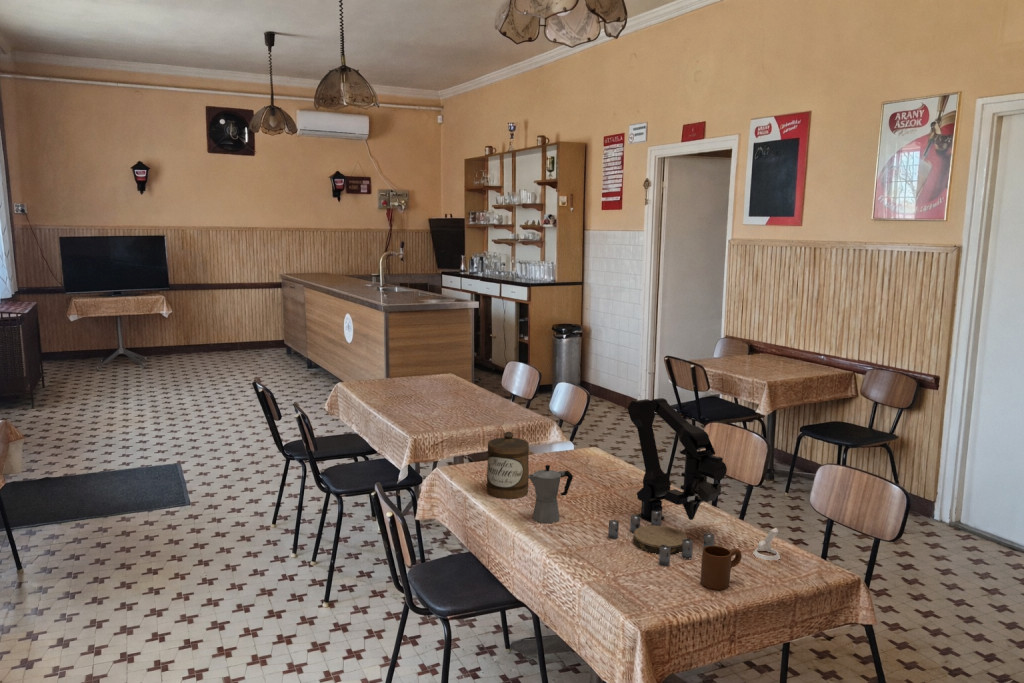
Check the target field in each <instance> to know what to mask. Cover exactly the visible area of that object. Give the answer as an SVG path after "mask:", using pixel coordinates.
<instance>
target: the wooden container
mask: <svg viewBox="0 0 1024 683" xmlns="http://www.w3.org/2000/svg"><path fill="white" fill-rule="evenodd" d="M529 446H530V445H529V442H528V441H527V440H525V439H523V438H517V437H514V433H512V432H511V431H506V432H504V434H503V437H498V438H493V439H490V440H489V441H488V442H487V466H486V468H487V472H486V492H488V493H489V494H488V493H487V494H488V495H489V496H491V495H492V497H494V496H495V497H494V498H498V497H499V498H498V499H505V498H512V499H519V498H522V497H525V496H527V495H528V493H529V478H528V476H529V475H530V474H529V472H530V471H529V468H530V467H529V466H530V465H529V459H530V458H529V457H530V454H529V451H530V450H529Z"/></svg>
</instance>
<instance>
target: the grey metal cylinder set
mask: <svg viewBox="0 0 1024 683" xmlns="http://www.w3.org/2000/svg"><path fill="white" fill-rule="evenodd" d="M641 519H642V518H641V516H639V515H638V514H631V515H630V527H629V528H630V529H629V532H630V533H631V532H632V533H631V534H634V531H635V530H636V529H638V528H639V527H641ZM650 523H651V524H650V526H652V525H654V526H662V524H661V523H662V519H661V511H660V510H656V509H655V510H652V519H651V522H650ZM619 526H620V522H619V520H616V519H610V520H608V535H607V537H608V538H609V539H610V538H612V539H611V540H617V539H618V538H619ZM616 538H617V539H616ZM693 544H694V540H693V539H691V538H687V539H683V540H682V553H681V556H682V557H683V558H686V559H685V560H690V559H689V558H692V559H693V546H694V545H693ZM702 544H703V546H702V549H703V548H704V547H706V546H715V534H714V533H711V532H705V533H703V543H702ZM670 549H671V547H670V546H667V545H661V546H660V551H659V556H658V564H659V566H661V567H669V566H670V561H671V555H670ZM682 557H681V558H682ZM683 558H682V559H683ZM668 565H669V566H668Z"/></svg>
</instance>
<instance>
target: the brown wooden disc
mask: <svg viewBox="0 0 1024 683" xmlns="http://www.w3.org/2000/svg"><path fill="white" fill-rule="evenodd" d="M683 539H688V537H687V535H686V534H685V533H684V532H683V531H681V530H679V529H677V528H673V527H669V526H663V525H661V526H654V525H652V526H651V525H645V526H640V527H639V528H638V529H636V530H635V531H634V533H633V542H632V543H633V545H634V544H635V545H636V546H635V545H634V546H635V547H636V548H637V547H638V548H637V549H639V550H641V549H642V550H641V551H642V552H645V551H647V552H646V553H649V552H650V553H649V554H652V553H654V555H658V554H659V551H660V546H661V545H667V546H670V547H671V549H670V554H674V555H677V554H676V553H679V552H682V540H683ZM655 553H656V554H655ZM679 554H680V553H679Z"/></svg>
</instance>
